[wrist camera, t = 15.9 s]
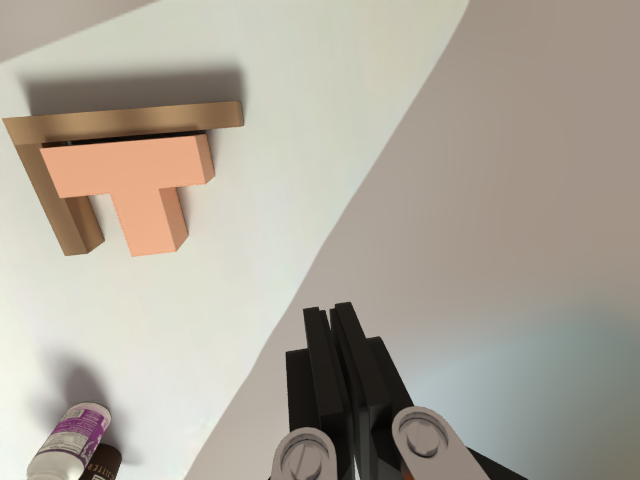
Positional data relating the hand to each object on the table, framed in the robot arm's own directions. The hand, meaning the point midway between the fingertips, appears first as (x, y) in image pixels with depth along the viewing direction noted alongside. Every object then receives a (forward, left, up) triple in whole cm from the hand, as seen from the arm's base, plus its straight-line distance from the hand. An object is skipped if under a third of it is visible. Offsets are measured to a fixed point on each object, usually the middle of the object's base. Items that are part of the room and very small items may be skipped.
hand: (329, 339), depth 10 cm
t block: (-14, +1, -23) cm, 27 cm away
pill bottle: (-30, -27, -23) cm, 47 cm away
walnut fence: (-13, +2, -23) cm, 26 cm away
